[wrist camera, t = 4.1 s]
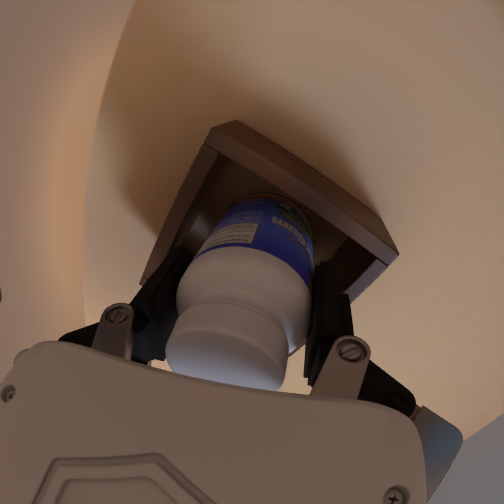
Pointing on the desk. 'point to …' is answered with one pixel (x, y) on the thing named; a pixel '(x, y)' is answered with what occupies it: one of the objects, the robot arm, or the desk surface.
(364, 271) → the caddy
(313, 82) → the desk surface
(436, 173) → the desk surface
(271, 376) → the pill bottle
